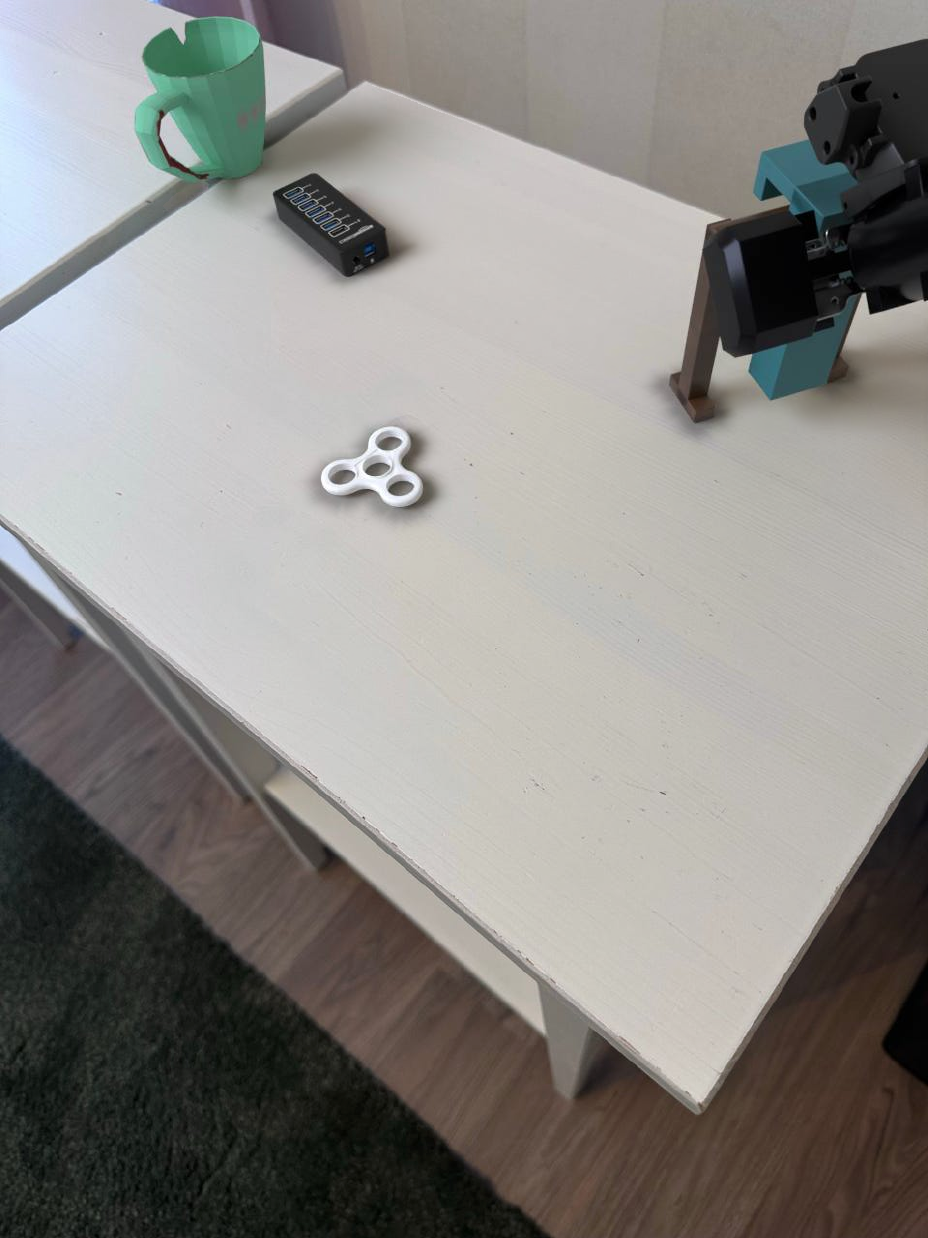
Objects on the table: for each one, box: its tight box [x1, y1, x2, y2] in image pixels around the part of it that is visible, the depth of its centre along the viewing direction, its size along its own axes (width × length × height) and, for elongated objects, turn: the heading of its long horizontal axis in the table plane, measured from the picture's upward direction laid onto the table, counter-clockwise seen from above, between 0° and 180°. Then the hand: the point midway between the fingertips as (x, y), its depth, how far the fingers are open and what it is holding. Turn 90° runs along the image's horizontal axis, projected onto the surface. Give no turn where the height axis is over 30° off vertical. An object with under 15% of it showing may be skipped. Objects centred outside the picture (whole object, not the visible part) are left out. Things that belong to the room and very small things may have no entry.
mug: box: [133, 15, 267, 184], centre depth 77 cm, size 15×10×10 cm
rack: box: [668, 203, 863, 424], centre depth 57 cm, size 4×12×14 cm, turn 108°
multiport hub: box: [272, 172, 390, 277], centre depth 74 cm, size 4×11×2 cm, turn 37°
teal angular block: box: [747, 138, 858, 402], centre depth 54 cm, size 7×4×13 cm, turn 18°
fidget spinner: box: [320, 425, 424, 508], centre depth 60 cm, size 7×6×1 cm
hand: (800, 279), depth 54 cm, fingers closed on teal angular block, 4 cm apart
